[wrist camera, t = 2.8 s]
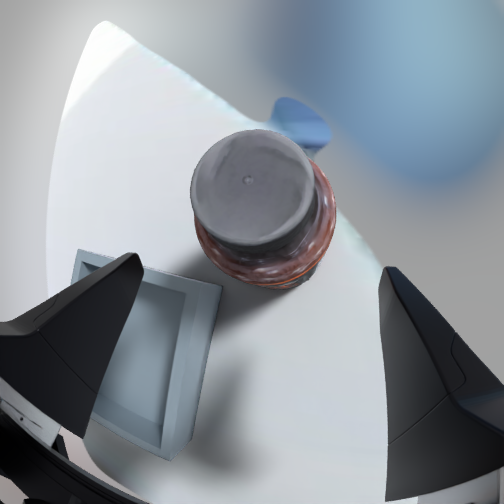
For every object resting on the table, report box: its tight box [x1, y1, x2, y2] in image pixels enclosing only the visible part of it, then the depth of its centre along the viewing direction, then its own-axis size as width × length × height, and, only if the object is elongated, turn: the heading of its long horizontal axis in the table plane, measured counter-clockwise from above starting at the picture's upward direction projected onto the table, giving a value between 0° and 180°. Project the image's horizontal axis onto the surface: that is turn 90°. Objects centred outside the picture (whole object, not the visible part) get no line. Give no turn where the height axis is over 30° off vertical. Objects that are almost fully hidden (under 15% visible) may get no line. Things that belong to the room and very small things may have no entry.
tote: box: [71, 249, 223, 461], centre depth 18 cm, size 13×11×4 cm
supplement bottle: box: [190, 129, 336, 290], centre depth 14 cm, size 6×6×11 cm
